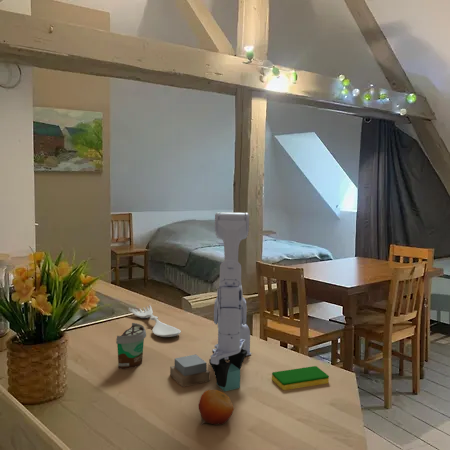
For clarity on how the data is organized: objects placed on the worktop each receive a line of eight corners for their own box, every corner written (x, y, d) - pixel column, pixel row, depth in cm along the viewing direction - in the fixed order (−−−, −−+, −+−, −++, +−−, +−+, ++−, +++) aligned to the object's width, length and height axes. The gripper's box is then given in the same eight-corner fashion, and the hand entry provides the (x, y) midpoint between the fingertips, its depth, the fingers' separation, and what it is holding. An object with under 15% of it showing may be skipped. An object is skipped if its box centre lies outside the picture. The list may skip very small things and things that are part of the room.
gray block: (195, 362, 144) (195, 354, 144) (206, 371, 138) (206, 362, 138) (174, 367, 141) (174, 358, 141) (184, 376, 135) (184, 367, 135)
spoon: (150, 312, 197) (150, 303, 197) (185, 339, 170) (185, 329, 169) (127, 315, 193) (127, 306, 192) (160, 343, 165) (160, 333, 165)
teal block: (231, 381, 139) (231, 363, 138) (239, 387, 135) (240, 369, 134) (216, 384, 137) (216, 366, 136) (224, 391, 133) (225, 373, 132)
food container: (137, 372, 143) (137, 338, 141) (116, 370, 144) (116, 336, 142) (152, 355, 155) (152, 323, 153) (132, 354, 156) (132, 322, 154)
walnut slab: (196, 371, 146) (196, 361, 145) (209, 382, 139) (209, 372, 138) (170, 376, 142) (170, 366, 141) (182, 388, 135) (182, 377, 134)
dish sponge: (329, 384, 139) (329, 376, 138) (282, 392, 134) (283, 383, 134) (315, 373, 145) (316, 365, 145) (271, 380, 141) (271, 371, 140)
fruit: (189, 406, 122) (207, 378, 121) (218, 421, 123) (236, 394, 122) (190, 424, 114) (209, 394, 113) (220, 440, 115) (239, 411, 114)
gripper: (230, 321, 142) (229, 367, 144) (200, 336, 129) (200, 387, 131) (252, 325, 138) (251, 373, 140) (224, 342, 126) (223, 394, 128)
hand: (228, 381), depth 135 cm, fingers closed on teal block, 6 cm apart
